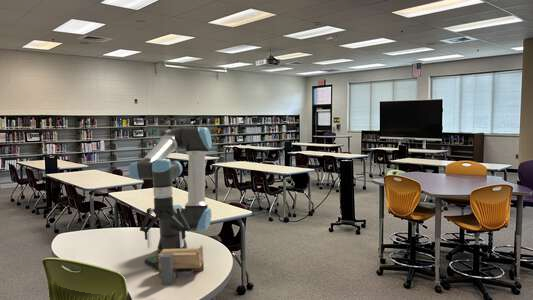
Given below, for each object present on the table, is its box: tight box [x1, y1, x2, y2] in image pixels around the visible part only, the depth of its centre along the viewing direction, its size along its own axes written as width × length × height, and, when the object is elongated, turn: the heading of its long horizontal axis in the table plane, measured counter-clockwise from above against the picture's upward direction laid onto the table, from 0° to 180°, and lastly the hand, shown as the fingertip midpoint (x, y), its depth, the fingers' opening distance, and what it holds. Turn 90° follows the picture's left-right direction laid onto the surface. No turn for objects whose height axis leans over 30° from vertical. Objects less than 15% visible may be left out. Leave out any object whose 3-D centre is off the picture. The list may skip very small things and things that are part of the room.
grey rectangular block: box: [160, 253, 178, 286], centre depth 168 cm, size 13×4×12 cm, turn 178°
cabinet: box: [157, 245, 205, 279], centre depth 173 cm, size 8×18×11 cm, turn 88°
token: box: [176, 268, 195, 278], centre depth 172 cm, size 6×6×3 cm
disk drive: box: [144, 254, 159, 271], centre depth 186 cm, size 10×3×15 cm
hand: (165, 246), depth 162 cm, fingers open, 13 cm apart
